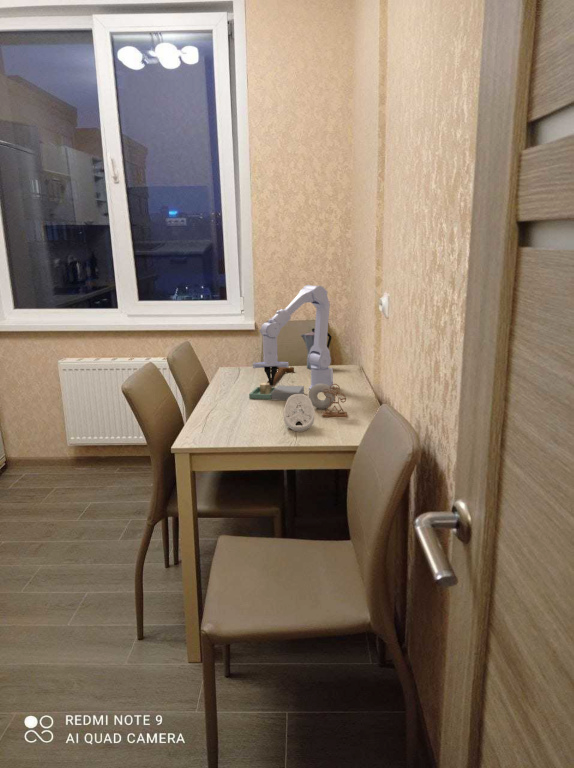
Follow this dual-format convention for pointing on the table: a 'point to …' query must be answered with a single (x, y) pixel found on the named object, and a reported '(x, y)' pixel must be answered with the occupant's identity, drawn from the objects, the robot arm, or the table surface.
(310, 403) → the skull bowl
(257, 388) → the box
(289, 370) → the hammer
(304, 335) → the moka pot
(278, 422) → the table surface
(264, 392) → the maple block
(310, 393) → the donut
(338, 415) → the gingerbread man figurine
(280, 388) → the slate plate
